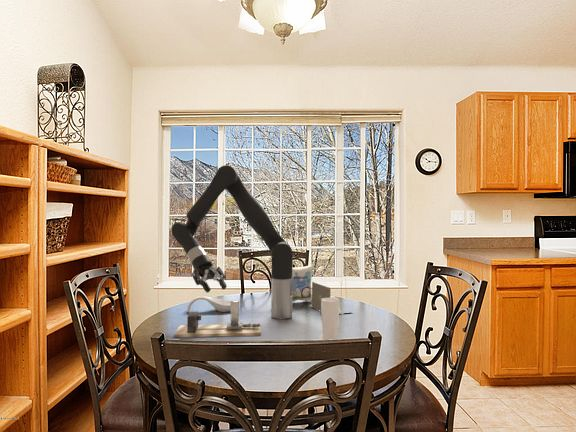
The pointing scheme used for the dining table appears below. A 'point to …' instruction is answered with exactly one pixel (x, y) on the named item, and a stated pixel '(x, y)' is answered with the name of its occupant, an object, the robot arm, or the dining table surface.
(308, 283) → the pouch
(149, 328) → the dining table surface
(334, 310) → the drinking glass
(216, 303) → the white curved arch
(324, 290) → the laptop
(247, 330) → the tensioner rail
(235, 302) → the chain handle
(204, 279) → the robot arm
